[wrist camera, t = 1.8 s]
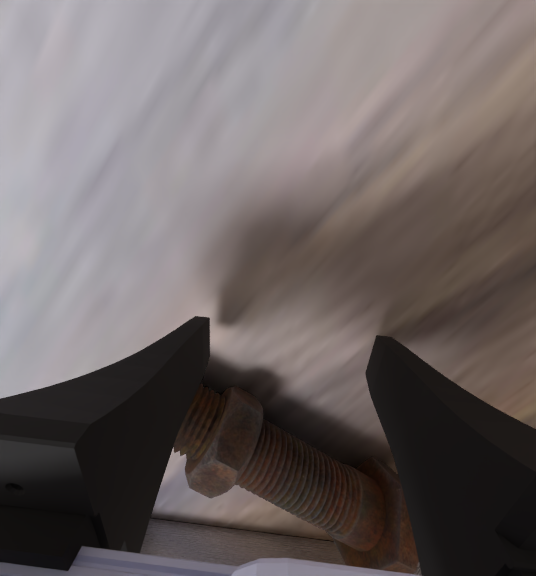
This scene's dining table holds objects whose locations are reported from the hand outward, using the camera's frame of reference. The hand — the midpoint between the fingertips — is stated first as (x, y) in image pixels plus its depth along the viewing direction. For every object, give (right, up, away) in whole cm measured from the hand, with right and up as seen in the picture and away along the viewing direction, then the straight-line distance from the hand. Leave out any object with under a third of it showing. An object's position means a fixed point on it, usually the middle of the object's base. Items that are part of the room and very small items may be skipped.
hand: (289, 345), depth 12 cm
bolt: (0, -6, +5) cm, 7 cm away
